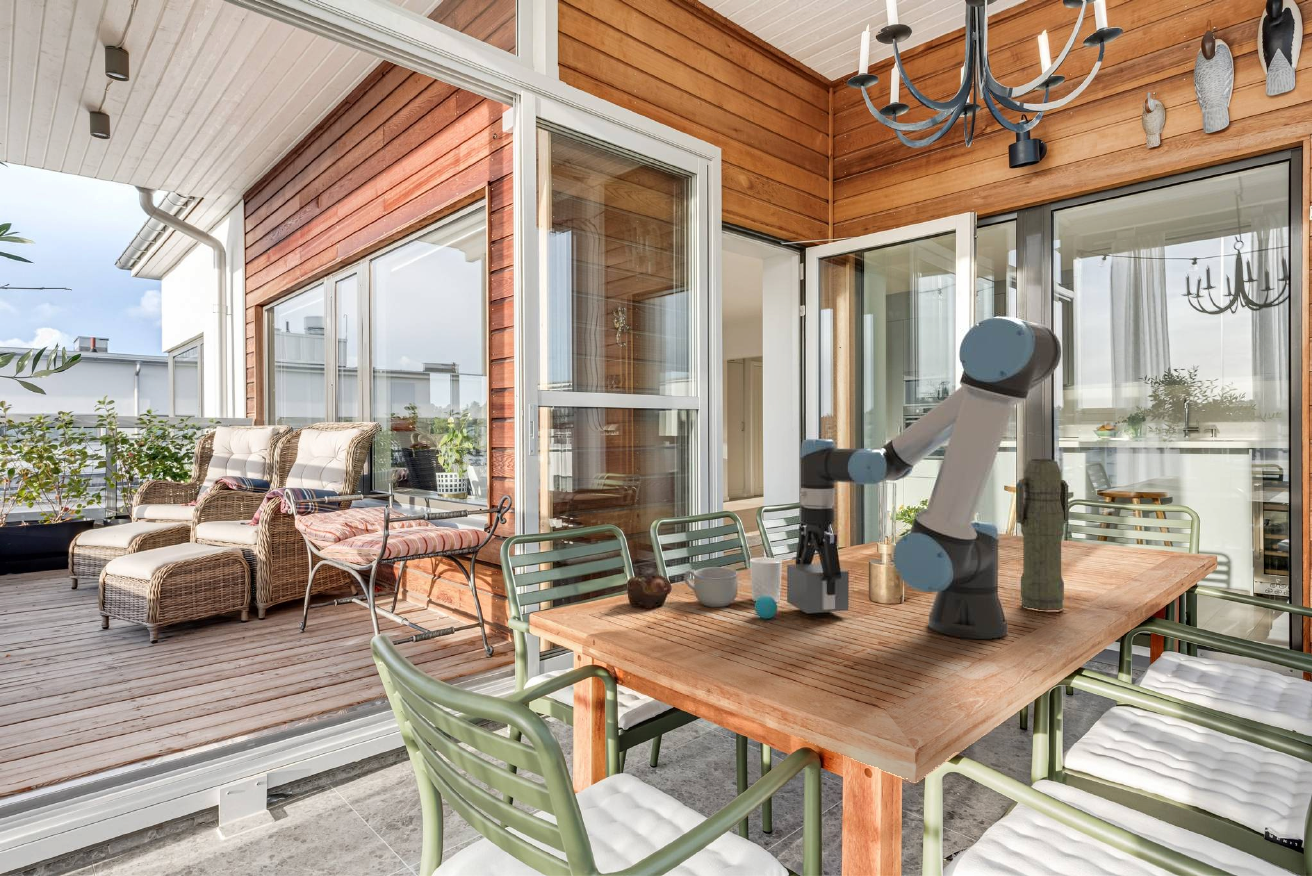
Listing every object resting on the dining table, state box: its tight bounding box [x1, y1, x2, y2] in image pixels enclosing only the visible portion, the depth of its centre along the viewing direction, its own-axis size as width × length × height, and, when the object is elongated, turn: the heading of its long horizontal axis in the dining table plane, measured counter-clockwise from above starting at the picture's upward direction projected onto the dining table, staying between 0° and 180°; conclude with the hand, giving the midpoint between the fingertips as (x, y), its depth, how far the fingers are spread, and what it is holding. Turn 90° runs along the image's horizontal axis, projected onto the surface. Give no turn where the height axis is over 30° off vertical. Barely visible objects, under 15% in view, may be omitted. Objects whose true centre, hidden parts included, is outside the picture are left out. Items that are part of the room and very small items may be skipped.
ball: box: [754, 596, 778, 620], centre depth 159 cm, size 5×5×5 cm
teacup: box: [683, 566, 739, 608], centre depth 173 cm, size 14×11×8 cm
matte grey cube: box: [786, 562, 850, 614], centre depth 163 cm, size 10×10×9 cm
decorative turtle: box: [626, 572, 673, 610], centre depth 171 cm, size 10×15×8 cm, turn 147°
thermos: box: [1015, 458, 1069, 610], centre depth 167 cm, size 9×12×35 cm
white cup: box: [749, 556, 783, 603], centre depth 176 cm, size 8×8×10 cm
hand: (817, 602), depth 163 cm, fingers closed on matte grey cube, 10 cm apart
